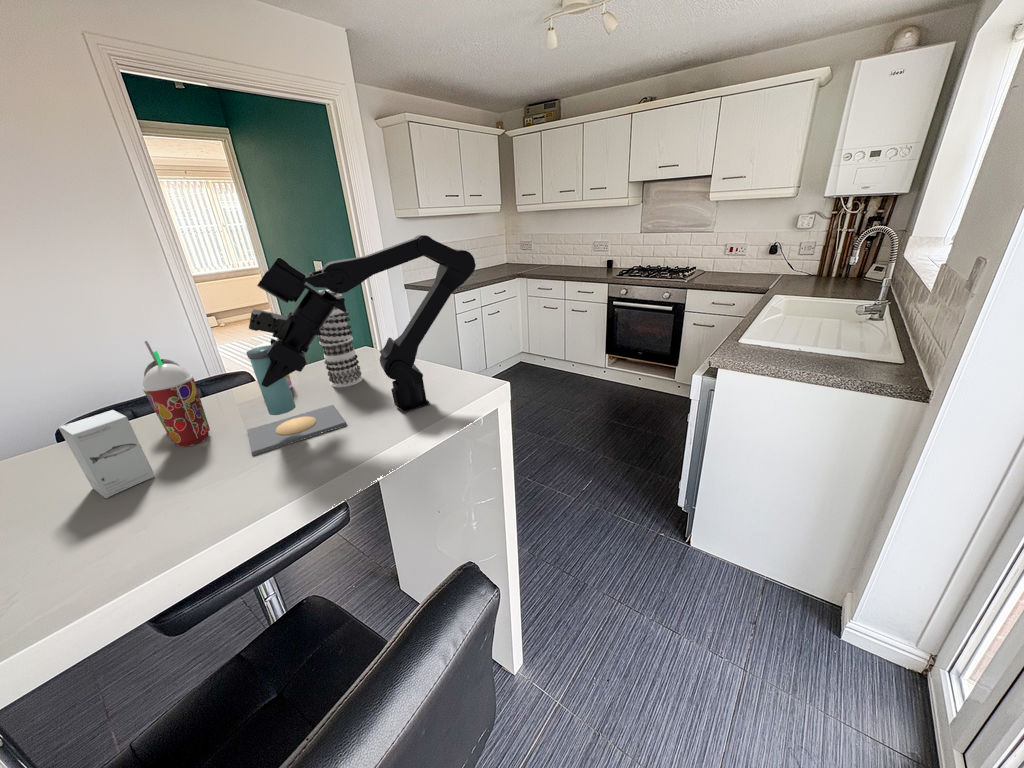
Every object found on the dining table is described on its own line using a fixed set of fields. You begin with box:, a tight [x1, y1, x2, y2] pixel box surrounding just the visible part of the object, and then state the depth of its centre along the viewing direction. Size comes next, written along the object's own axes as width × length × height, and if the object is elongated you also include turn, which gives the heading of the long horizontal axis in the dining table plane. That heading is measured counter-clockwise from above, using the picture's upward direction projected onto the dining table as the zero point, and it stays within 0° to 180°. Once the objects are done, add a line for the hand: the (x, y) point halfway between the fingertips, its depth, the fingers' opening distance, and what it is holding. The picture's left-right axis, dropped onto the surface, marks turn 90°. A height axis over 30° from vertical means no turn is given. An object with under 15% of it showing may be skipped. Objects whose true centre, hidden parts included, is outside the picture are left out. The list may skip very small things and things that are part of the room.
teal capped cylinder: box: [246, 345, 297, 416], centre depth 82 cm, size 5×5×13 cm
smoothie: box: [141, 350, 211, 448], centre depth 84 cm, size 8×8×20 cm
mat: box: [246, 404, 348, 456], centre depth 89 cm, size 18×12×1 cm, turn 125°
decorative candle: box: [317, 289, 363, 388], centre depth 109 cm, size 9×9×25 cm
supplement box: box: [58, 409, 156, 499], centre depth 72 cm, size 7×7×13 cm
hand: (264, 381), depth 82 cm, fingers closed on teal capped cylinder, 5 cm apart
